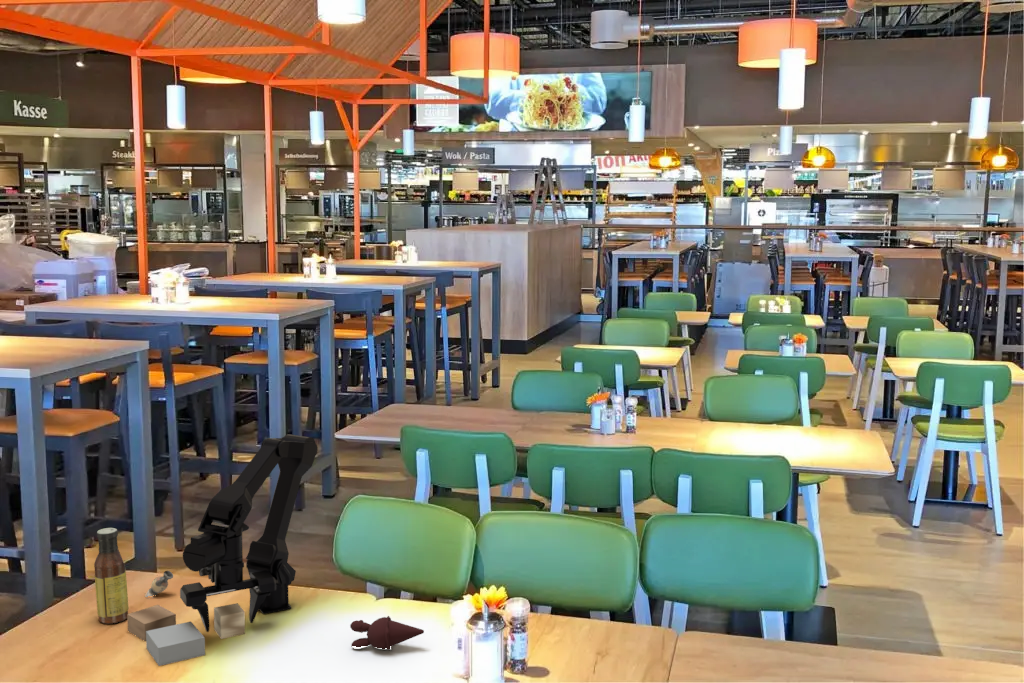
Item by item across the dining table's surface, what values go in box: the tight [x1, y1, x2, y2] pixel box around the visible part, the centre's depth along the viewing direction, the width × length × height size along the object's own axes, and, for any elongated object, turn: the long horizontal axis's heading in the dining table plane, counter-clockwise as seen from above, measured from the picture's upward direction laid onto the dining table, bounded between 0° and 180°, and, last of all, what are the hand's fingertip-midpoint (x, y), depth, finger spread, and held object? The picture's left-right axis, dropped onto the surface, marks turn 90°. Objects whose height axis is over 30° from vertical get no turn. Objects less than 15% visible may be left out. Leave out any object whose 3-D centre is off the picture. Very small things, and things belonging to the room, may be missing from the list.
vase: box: [144, 570, 174, 597], centre depth 228 cm, size 5×5×6 cm
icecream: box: [349, 615, 425, 649], centre depth 204 cm, size 7×7×15 cm
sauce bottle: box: [93, 527, 129, 625], centre depth 214 cm, size 7×6×20 cm
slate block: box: [145, 621, 206, 667], centre depth 201 cm, size 9×9×4 cm
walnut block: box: [126, 604, 177, 642], centre depth 210 cm, size 7×7×4 cm
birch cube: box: [213, 602, 246, 640], centre depth 210 cm, size 5×5×5 cm
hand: (229, 626), depth 211 cm, fingers open, 9 cm apart
